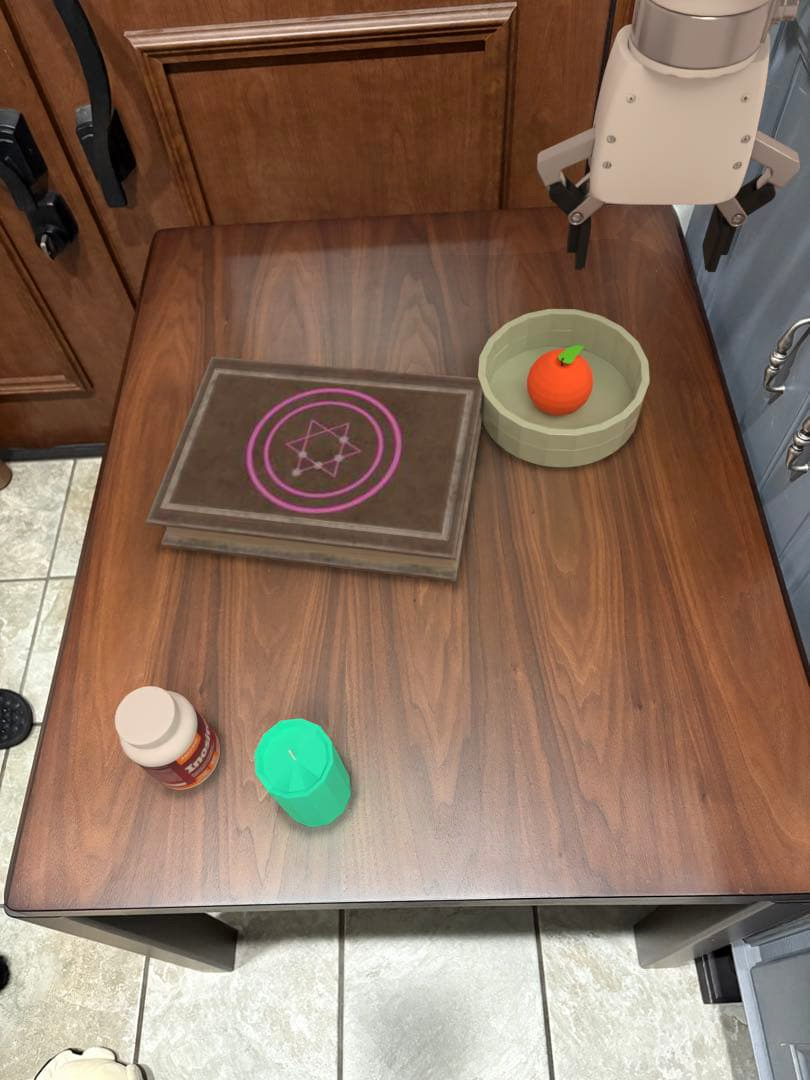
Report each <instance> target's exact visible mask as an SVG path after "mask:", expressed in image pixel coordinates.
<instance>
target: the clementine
mask: <svg viewBox="0 0 810 1080" xmlns="http://www.w3.org/2000/svg"><path fill="white" fill-rule="evenodd" d="M583 348H584V350H585V347H583V346H581V345H575V346H572V347H569V348H568V349H556V350H552V351H550V352H547V353H545V354H543V355H542V356H540V357H539V358H538V359H537V360H536V361H535V362H534V364H533V365H532V367H531V368H530V371H529V374H528V378H527V390H528V394H529V396H530V399H531V400H532V402H533V403H534V404H535V406H536V407H537V408H539V409H540V410H541V411H543V412H545V413H548V414H551V415H556V416H557V415H566V414H571V413H573V412H575V411H577V410H578V409H579V408H581V407H582V406H583V405H584V404H585V403H586V401H587V400H588V398H589V396H590V394H591V391H592V388H593V374H592V371H591V369H590V367H589V364H588V363H587V361H586V360H585V359H584V358H583V357H582V356H580V355H579V353H580V351H581V350H582V349H583Z"/></svg>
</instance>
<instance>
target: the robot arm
mask: <svg viewBox="0 0 810 1080" xmlns="http://www.w3.org/2000/svg"><path fill="white" fill-rule="evenodd" d="M799 7H800V0H635V2H634V7H633V14H632V19H631V23H630V24H627V25H624V26H623V27H622V28H620V29H619V30H618V32H617V34H616V36H615V39H614V42H613V44H612V47H611V50H610V53H609V56H608V60H607V63H606V66H605V69H604V72H603V73H604V74H603V77H602V80H601V85H600V89H599V94H598V98H597V103H596V108H595V113H594V118H593V123H592V127H591V128H589V129H586V130H585V131H583V132H580V133H578V134H575V135H574V136H572V137H570V138H567V139H565V140H563V141H561V142H558V143H556V144H554V145H552V146H550V147H548V148H545V149H543V150H540V151H539V152H538V154H537V156H536V171H537V173H538V175H539V178H540V180H541V181H542V183H543V185H544V188H546V191H547V192H548V197H549V199H550V200H551V201H552V202H553V203H554V204H555V205H556V206H557V207H558V208H559V210H561V211H562V212H563V213H564V214H565V215H566V216H567V220H568V222H569V223H568V231H567V238H566V253H567V254H574V270H575V271H582V270H583V269H585V268H586V263H587V257H588V250H589V244H590V237H591V231H592V216H593V215H594V214H595V213H596V212H597V211H598V210H599V209H601V208H602V207H603V206H604V205H605V204H610V205H611V204H612V205H652V206H653V205H655V206H657V205H658V206H660V205H661V206H667V205H668V206H674V205H675V206H678V205H679V206H698V205H699V206H704V205H705V206H706V205H713V208H712V211H711V215H710V218H709V221H708V225H707V228H706V231H705V234H704V238H703V241H702V245H701V249H702V255H703V257H702V258H703V263H704V271H707V273H716V271H717V269H718V266H719V263H720V260H721V257H722V256H728V254H729V253H730V249H731V246H732V244H733V240H734V238H735V235H736V233H737V232H736V231H737V229H738V227H741V226H743V225H744V224H746V222H747V220H748V216H750V215H751V214H753V213H755V212H756V211H757V210H759V209H761V208H762V207H764V206H765V205H767V204H769V203H770V202H772V201H774V199H775V198H776V195H777V194H776V193H777V192H778V191H779V190H781V189H783V188H784V187H785V186H786V185H787V184H788V183H789V181H790V180H791V179H792V178H793V177H794V176H796V175H797V174H798V172H799V171H800V170H801V167H802V166H801V162H800V161H801V160H800V157H799V153H798V151H796V150H795V149H793V148H791V147H789V146H787V145H786V144H783V143H781V142H780V141H778V140H776V139H775V138H772V137H771V136H769V135H767V134H765V132H762V131H760V130H758V126H759V122H760V117H761V114H762V113H761V112H762V108H763V104H764V98H765V92H766V86H767V80H768V72H769V64H770V55H771V54H770V53H771V37H770V34H769V32H770V31H771V30H772V28H773V27H774V25H779V24H780V23H781V22H793V21H795V20H796V16H797V14H798V10H799ZM585 160H587V163H588V164H587V165H588V168H589V172H588V173H587V174H586V175H585V176H583V177H582V178H581V179H580V180H579V181H578V182H577V183H576V184H574V183H573V182H572V180H570V179H569V178H568V177H567V176H566V174H564V173H563V170H565V169H567V168H570V167H572V166H574V165H576V164H580V163H581V162H584V161H585ZM750 160H752V161H754V162H755V163H758V164H760V165H761V166H764V168H766V169H765V172H764V173H761V174H759V175H757V176H756V177H754V178H753V179H751V180H750V181H748V182H747V183H745V184H743V183H744V180H745V178H746V174H747V171H748V168H749V164H750Z"/></svg>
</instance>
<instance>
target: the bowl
mask: <svg viewBox="0 0 810 1080" xmlns="http://www.w3.org/2000/svg"><path fill="white" fill-rule="evenodd" d="M575 345H581V346H583V347H585V350H584V348H583V349H582V350H581V351H580V353H579V355H580V356H582V357H583V358H584V359H585V360H586V361H587V363H588V364H589V367H590V369H591V371H592V374H593V388H592V391H591V394H590V396H589V398H588V400H587V401H586V403H585V404H584V405H583V406H582V407H581V408H579V409H578V410H577V411H575V412H573V413H571V414H566V415H557V416H556V415H551V414H548V413H545V412H543V411H541V410H540V409H539V408H537V407H536V406H535V404H534V403H533V402H532V400H531V399H530V396H529V394H528V390H527V378H528V374H529V371H530V368H531V367H532V365H533V364H534V362H535V361H536V360H537V359H538V358H539V357H540V356H542V355H543V354H545V353H547V352H550V351H552V350H556V349H568V348H569V347H572V346H575ZM649 367H650V365H649V360H648V358H647V356H646V354H645V352H644V350H643V349H642V346H641V344H640V342H639V341H638V340H637V339H636V338H635V337H634V336H633V335H632V334H631V333H629V332H628V331H627V330H626V329H625V328H624V327H623V326H621V325H619V324H618V323H616V322H614V321H612V320H610V319H608V318H606V317H605V316H603V315H600V314H597V313H592V312H589V311H585V310H581V309H575V308H546V309H542V310H536V311H533V312H528V313H527V312H526V313H524V314H523V315H521V316H518V317H516V318H514V319H512V320H509V321H508V322H506V323H505V324H503V325H502V326H501V327H500V328H499V329H497V331H495V333H493V334H492V335H491V336H490V337H489V338H487V341H486V342H485V345H484V347H483V349H482V351H481V353H480V354H479V357H478V370H477V378H478V379H479V382H480V385H481V388H482V391H483V397H482V403H481V409H480V413H481V416H482V426H483V427H484V430H485V431H486V432H487V434H488V435H489V437H490V438H491V439H492V440H493V441H494V442H495V444H497V445H498V446H499V447H500V448H502V449H503V450H504V451H506V452H507V453H509V454H510V455H513V456H514V457H516V458H518V459H520V460H523V461H525V462H528V463H530V464H533V465H537V466H542V467H549V468H572V467H573V468H574V467H581V466H585V465H589V464H593V463H596V462H599V461H601V460H603V459H605V458H608V457H609V456H610V455H612V454H613V453H615V452H617V451H618V450H619V449H620V448H621V447H623V446H624V445H625V444H626V442H627V441H628V440H629V439H630V438H631V436H632V435H633V433H634V432H635V429H636V427H637V425H638V421H639V420H640V419H639V418H640V416H641V413H642V410H643V406H644V403H645V400H646V396H647V392H648V388H649V386H650V382H651V381H650V380H651V379H650V368H649Z"/></svg>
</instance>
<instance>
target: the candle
mask: <svg viewBox="0 0 810 1080" xmlns="http://www.w3.org/2000/svg"><path fill="white" fill-rule="evenodd" d="M253 757H254V769H255V770H254V773H255V776H256V777H257V778H258V780H259V781H260V783H261V785H262V786H263V787H264V789H265V790H266V792H268V794H269V795H270V796H271V797H272V798H273V799H274V801H275V802H276V803H277V804H278V805H279V806H280V807H281V808H282V810H284V812H286V814H287V815H288V816H289V817H290V818H291V819H292V820H293V821H294V822H297V823H299V824H301V825H304V826H305V827H309V828H316V827H321V826H327V825H330V824H331V823H333V822H334V821H335V820H336V819H338V818H339V817H340V816H341V815H343V814H344V812H345V811H346V808H347V806H348V804H349V801H350V799H351V796H352V790H351V789H352V788H351V780H350V779H351V778H350V775H349V773H348V771H347V768H346V766H345V765H344V763H343V761H342V759H341V757H340V755H339V752H338V751H337V749H336V747H335V745H334V743H333V741H332V740H331V738H330V737H329V736H328V735H327V733H326V732H325V731H324V729H323V728H322V727H321V725H318V724H316V723H313V722H311V721H309V720H306V719H304V718H300V717H299V718H293V719H283V720H282V719H281V720H279V721H278V722H276V724H274V725H273V726H272V727H270V728H269V729H268V730H267V731H265V732H264V733H263V735H262V737H261V738H260V740H259V743H258V744H257V746H256V749H255V751H254V753H253Z"/></svg>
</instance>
